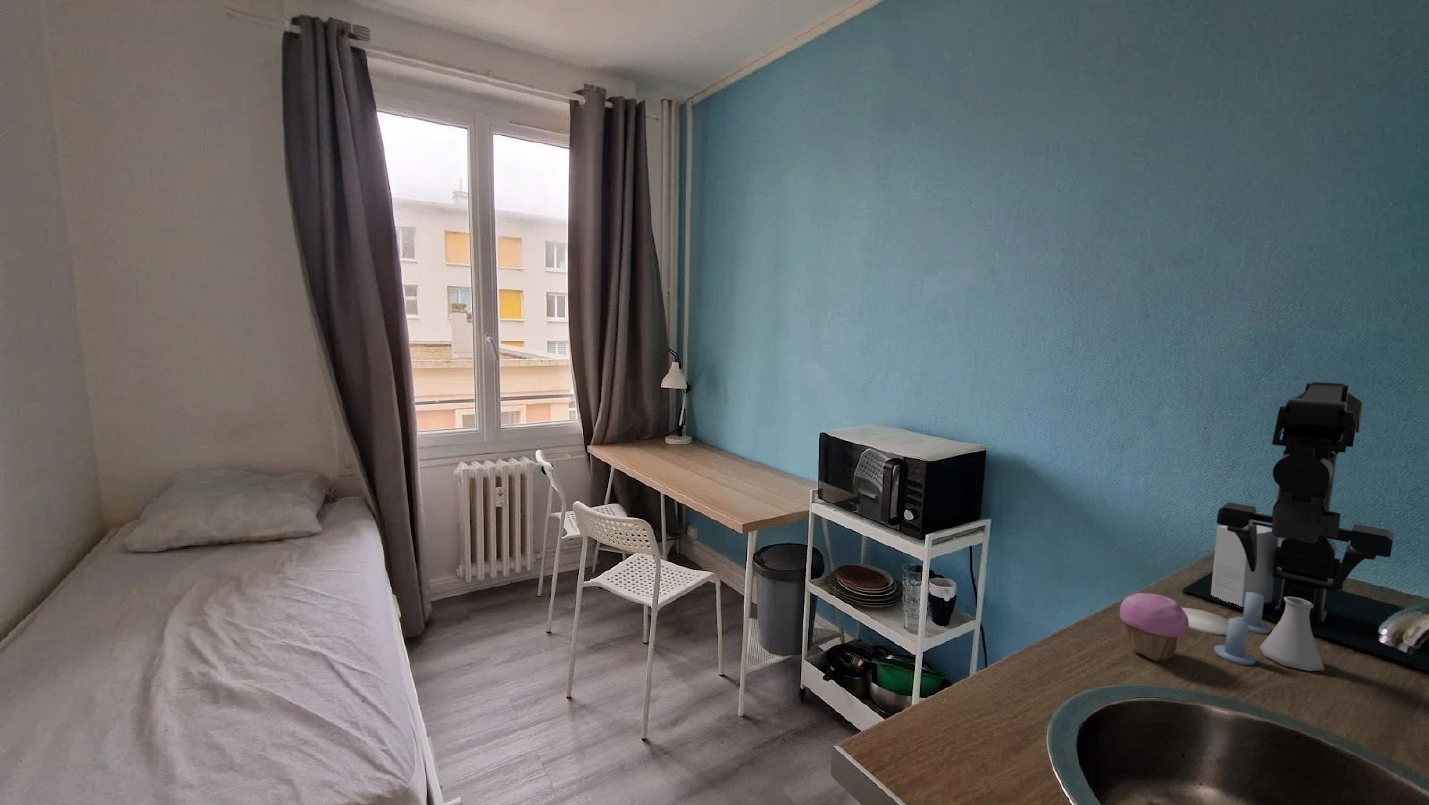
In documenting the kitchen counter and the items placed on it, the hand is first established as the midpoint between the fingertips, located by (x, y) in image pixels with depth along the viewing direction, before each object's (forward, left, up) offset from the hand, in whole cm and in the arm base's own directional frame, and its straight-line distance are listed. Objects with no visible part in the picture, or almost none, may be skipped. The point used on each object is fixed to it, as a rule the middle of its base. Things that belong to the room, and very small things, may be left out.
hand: (1292, 580), depth 91 cm
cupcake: (+13, -14, -14) cm, 24 cm away
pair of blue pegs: (-4, -5, -14) cm, 15 cm away
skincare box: (-25, -8, -14) cm, 30 cm away
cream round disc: (-7, -11, -14) cm, 19 cm away
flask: (-3, +1, -14) cm, 14 cm away
